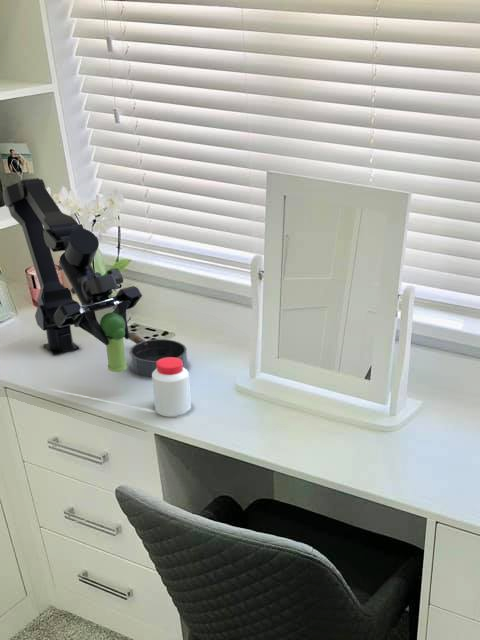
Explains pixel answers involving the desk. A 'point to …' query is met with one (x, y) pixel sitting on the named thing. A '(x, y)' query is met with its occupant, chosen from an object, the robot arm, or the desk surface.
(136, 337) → the pan handle
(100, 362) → the desk surface
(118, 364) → the broccoli
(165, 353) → the pan
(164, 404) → the pill bottle
